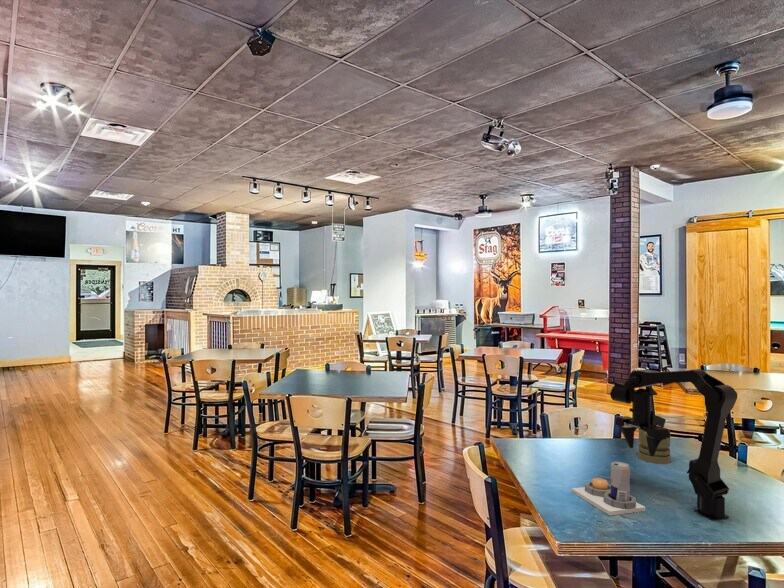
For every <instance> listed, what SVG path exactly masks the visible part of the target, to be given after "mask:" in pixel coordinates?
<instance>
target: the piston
mask: <svg viewBox="0 0 784 588" xmlns="http://www.w3.org/2000/svg"><path fill="white" fill-rule="evenodd" d="M643 428H645V427H643ZM646 436H648V435H647V431H644V430H641V429H638V443H639V444H638V459H639V460H641V461H643V462H646V463H648V464H649V463H650V464H655V465H667V464H670V463H671V449H670V447H671V437H670V438H666V439H664V440H662V441H661V442H660V443H659V445H658V447H657V450H656V452H655V454H654V456H650V453H649V449H648V444H647V439H646Z"/></svg>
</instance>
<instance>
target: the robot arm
mask: <svg viewBox="0 0 784 588" xmlns="http://www.w3.org/2000/svg"><path fill="white" fill-rule="evenodd" d="M671 383H674V384H675V383H676V384H677V383H678V384H679V383H691V384H692V385H693V386H694V387H695V388H696V390H697V391H698V392H699V394H700V395H702V396H703V397H704V406H705V409H706V412H707V414H706V419H705V424H704V429H703V435H702V439H701V444H700V450H699V455H698V457H697V458H695V459H691V460H689V463H688V470H687V471H686V474H688V480H689V481H690V483H691V485H692V488H693V490H694V493H695V495H696V508H694V509H693V512H695V513H697V514H699V515H701V516H703V517H705V518H707V519H709V520H711V521H717V520H724V519H730V516H729V515H727V514H726V511H725V510H726V507H725V506H726V504H725V503H726V497H725V495H726V496H727V495H728V493H729V491H730V488H729V486H728V485H727V484H726V482H725V481H724V480H723V479H722V478H721V468H720V465H719V462H718V460H719V454H720V450H721V446H722V445H721V444H722V440H723V436H724V430H725V425H726V420H727V417H728V415H729V414H730V413H731V411H732V410H733V409H734V406H735V404H736V403H737V402H736V401H738V400H737V399H738V392H737V391H736V390H735V389H734V387H733V386H730V385H728V384H725V382H723V381H721V380H720V379H718V378H716V377H714V376H712V375H710V374H709V373H707V372H706V371H705V370H704V369H701V368H696V369H695V368H694V369H688V370H675V371H657V370H652V369H640V370H632V371H631V372H630V374H629V376H628V379H627V380H626V381H625V383H623V382H614V385H613V387H611V390H610V392H609V393H610V394H609V395H610V399H611V400H612V401H613V402H618V403H623V404H628V405H629V404H632V405H631V407H630V408H629V412H630V413H631V416H632V417H631V416H628V415H627V416H617V417H616V419H615V425H616V426H617V427H618V429H619V430H620V432H621V433H622V435H623V437H624V438H625V441H626V443H627V446H628V448H629V449H633V448H634V444H635V443H634V442H635V431H636V430H637V429H638V430H639V429H641V430H644V431H647V435H648V436H646V439H647V444H648V449H649V453H650V456H654V454H655V452H656V450H657V447H658V445H659V443H660V442H661V441H662V440H664V439H666V438H670V439H671V431H670V429H669V428H666V427H665V424H666V420H667V419H666V418H664V417H662V416H658V415H655V410H653V409H652V396H658V392H657V391H656V390H654V388H653V387H652V386H655V385H660V384H671ZM645 387H648V388H645ZM643 427H645V428H643Z"/></svg>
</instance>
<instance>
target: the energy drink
mask: <svg viewBox="0 0 784 588" xmlns="http://www.w3.org/2000/svg"><path fill="white" fill-rule="evenodd" d="M630 480H631V468H630V464H628V463H625V462H623V461H612V462H611V464H610V485H611V498H612V499H614V500H618V501H623V502H626V501H630V495H631V494H630V492H631V489H630V488H631V487H630V486H631V481H630Z"/></svg>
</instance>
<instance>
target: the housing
mask: <svg viewBox="0 0 784 588" xmlns="http://www.w3.org/2000/svg"><path fill="white" fill-rule="evenodd" d="M571 493H572V494H574V495H576V496H578V497H579V498H581V499H582V500H584V501H585V502H587V503H589V504H590V505H592V506H594V507H595V508H596V509H598V510H600V511H601V512H603V513H605V514H606V513H607V514H606V515H608V516H616V515H624V514H633V512H634V513H642V512H646V506H644V505H643V504H640V503H638V502H637V498H636V497H635V496H633V495H631V494H630V501H626V502H623V501H618V500H614V499H612V498H611V483H608V480H606V479H604V478H601V477H593V478H592V480H590V481H588V480H587V481H585V483H584V486H583V487H572V488H571ZM641 511H642V512H641Z"/></svg>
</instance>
